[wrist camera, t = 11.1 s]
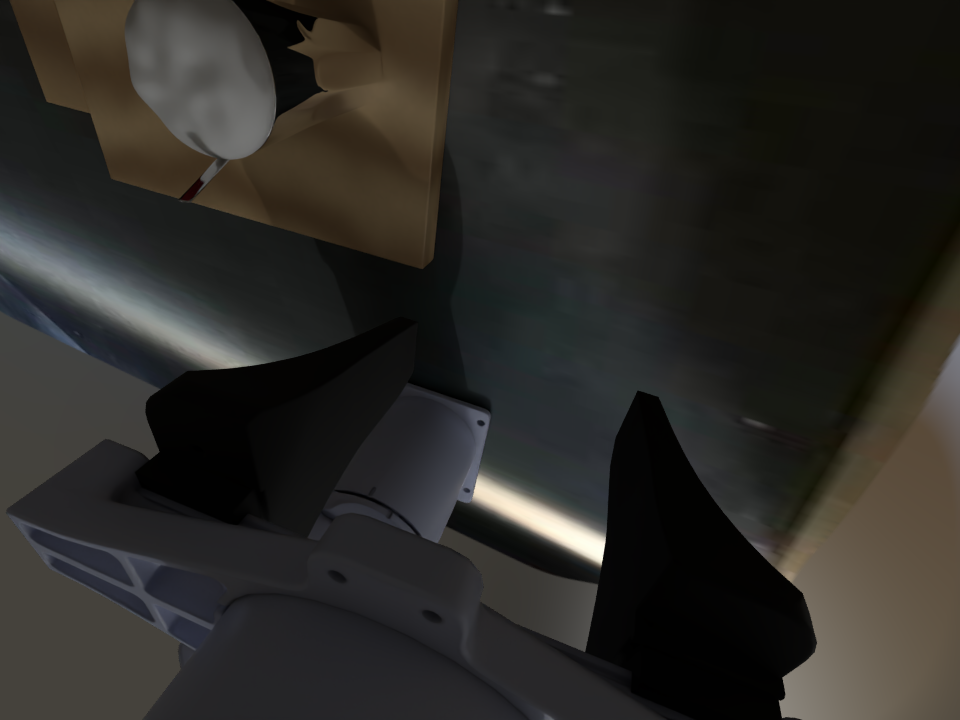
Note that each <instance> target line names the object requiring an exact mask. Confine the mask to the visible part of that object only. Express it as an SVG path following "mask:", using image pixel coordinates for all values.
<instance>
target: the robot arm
mask: <svg viewBox="0 0 960 720" xmlns="http://www.w3.org/2000/svg"><path fill="white" fill-rule="evenodd" d="M417 326H418V322H416V321H413V320H410V319H407V318H403V317H399V318H396V319H394V320H392V321H389V322H387V323H385V324H383V325H380V326H378V327H376V328H374V329H372V330H369V331H367V332H365V333H363V334H360V335H358V336H356V337H353V338H351V339H348V340H346V341H343V342H341V343H338V344H335V345H333V346H330V347H328V348H325V349H322V350H319V351H316V352H312V353H309V354H305V355H302V356H298V357H294V358H290V359H285V360H280V361H276V362H271V363H266V364H260V365H253V366H247V367H238V368H229V369H216V370H199V371H187V372H185V373H184V374H182V375H181V376H179V377H178V378H176V379H175V380H174V381H172V382H171V383H169V384H168V385H166V386H165V387H163V388H162V389H161V390H159V391H158V392H156V393H155V394H153V395H152V396H150V398H149V399H148V400H147V402H146V416H147V420H148V423H149V426H150V428H151V431H152V433H153V436H154V438H155V441H156V443H157V446H158V448H159V451H160V452H159V453H158V454H157V455H155V456H154V457H153V458H152V459H151V460H149V459H148V458H147V457H146V456H145V455H143V454H142V453H140V452H138V451H136V450H134V449H131V448H129V447H126V446H124V445H121V444H119V443H116V442H114V441H111V440H107V439H105V440H103V441H102V442H100V443H99V444H98V445H96V446H95V447H94V448H92V449H91V450H89V451H88V452H87V453H85V454H84V455H82V456H81V457H79V458H78V459H77V460H75V461H74V462H72V463H71V464H70V465H68V466H67V467H65V468H64V469H63V470H61V471H60V472H58V473H57V474H55V475H54V476H53V477H51V478H50V479H49V480H47V481H46V482H44V483H43V484H41V485H40V486H39V487H37V488H36V489H34V490H33V491H32V492H30V493H29V494H27V495H26V496H25V497H23V498H22V499H20V500H19V501H17V502H16V503H15V504H13V505H12V506H10V507H9V508H8V509H7V512H6V513H7V515H8V516H9V517H10V519H11V520H12V521H13V523H14V524H15V525H16V526H17V528H18V529H19V530H20V532H21V533H22V534H23V535H24V537H25V538H26V539H27V540H28V542H29V543H30V544H31V545H32V547H33V548H34V549H35V551H36V552H37V553H38V555H39V556H40V557H41V558H42V560H43V561H44V562H45V564H46V565H47V566H48V567H49V568H50V569H51V570H53V571H55V572H57V573H60V574H61V575H63V576H65V577H68V578H70V579H72V580H74V581H76V582H78V583H80V584H82V585H83V586H85V587H87V588H89V589H91V590H93V591H95V592H97V593H99V594H100V595H102V596H104V597H106V598H107V599H109V600H111V601H113V602H114V603H116V604H118V605H119V606H121V607H123V608H125V609H126V610H128V611H130V612H131V613H133V614H135V615H136V616H138V617H140V618H141V619H143V620H145V621H147V622H148V623H150V624H151V625H153V626H155V627H157V628H158V629H160V630H162V631H163V632H165V633H166V634H168V635H170V636H171V637H173V638H175V639H176V640H178V641H180V642H181V643H180V645H179V650H178V652H179V662H180V667H181V670H180V671H179V673H178V674H177V675H176V677H175V678H174V679H173V681H172V682H171V683H170V685H169V686H168V687H167V688H166V690H165V691H164V692H163V694H162V695H161V696H160V698H159V699H158V700H157V701H156V703H155V704H154V705H153V707H152V708H151V709H150V711H149V712H148V713H147V715H146V716H145V717H144V719H143V720H801V719H797V718H789V717H785V718H782V716H781V711H780V706H779V700H783V699H784V698H785V689H784V684H783V679H782V677H784V676H785V675H787V674H788V673H789V672H791V671H792V670H794V669H795V668H797V667H798V666H799V665H801V664H802V663H804V662H805V661H806V660H807V659H808V658H809V657H810V656H811V655H812V654H813V653H814V652H815V648H816V644H817V641H816V637H815V633H814V629H813V625H812V621H811V617H810V613H809V610H808V607H807V604H806V602H805V599H804V596H803V593H802V592H800V591H799V590H798V589H797V588H796V587H795V586H794V585H793V584H792V583H791V582H790V581H789V580H787V579H786V578H785V577H784V576H783V575H782V574H781V573H780V572H779V571H778V570H776V569H775V568H774V567H773V566H772V565H771V564H770V563H769V562H768V561H767V560H766V559H765V558H764V557H763V556H762V555H761V554H760V553H759V552H758V551H757V550H756V549H755V548H754V547H753V546H752V545H751V544H750V543H749V542H748V541H747V539H746V538H745V537H744V536H743V535H742V534H741V533H740V532H739V531H738V529H737V528H736V527H735V526H734V525H733V523H732V522H731V521H730V520H729V519H728V517H727V516H726V515H725V514H724V513H723V511H722V510H721V509H720V508H719V506H718V505H717V504H716V502H715V501H714V500H713V498H712V497H711V495H710V494H709V492H708V491H707V490H706V488H705V487H704V485H703V484H702V482H701V481H700V479H699V478H698V476H697V475H696V473H695V471H694V470H693V468H692V466H691V464H690V463H689V461H688V459H687V457H686V456H685V454H684V452H683V450H682V448H681V446H680V444H679V442H678V440H677V438H676V436H675V434H674V431H673V429H672V427H671V425H670V422H669V420H668V418H667V416H666V413H665V411H664V409H663V406H662V404H661V401H660V399H659V397H657V396H654V395H651V394H647V393H644V392H641V391H637V393H636V395H635V398H634V400H633V402H632V404H631V406H630V408H629V410H628V413H627V415H626V417H625V419H624V421H623V423H622V425H621V427H620V430H619V432H618V434H617V436H616V439H615V444H614V449H613V454H612V459H611V465H610V479H609V497H608V517H607V533H606V543H605V549H604V555H603V561H602V567H601V573H600V579H599V584H598V590H597V596H596V602H595V606H594V612H593V617H592V621H591V627H590V632H589V637H588V641H587V646H586V651H585V652H583V651H581V650H578V649H576V648H573V647H571V646H568V645H566V644H564V643H561V642H559V641H556V640H554V639H552V638H549V637H547V636H544V635H541V634H539V633H537V632H534V631H532V630H530V629H527V628H525V627H522V626H520V625H517V624H515V623H513V622H512V621H510V620H509V619H507V618H506V617H504V616H502V615H501V614H499V613H498V612H496V611H494V610H493V609H491V608H490V607H488V606H487V605H485V604H483V603H482V602H480V597H481V594H482V591H483V588H484V586H483V580H482V574H481V573H480V571H479V570H478V569H477V568H476V567H475V566H474V564H473V563H472V562H471V561H470V560H469V559H468V558H467V557H465V556H463V555H461V554H460V553H458V552H456V551H454V550H453V549H451V548H448V547H445V546H443V545H441V544H438V541H439V539H440V537H441V535H442V532H443V530H444V528H445V526H446V524H447V521H448V519H449V517H450V515H451V512H452V510H453V508H454V506H455V503H456V501H457V500H460V501H462V502H465V503H469V502H471V500H472V497H473V493H474V489H475V484H476V480H477V476H478V471H479V467H480V462H481V458H482V454H483V449H484V445H485V440H486V436H487V432H488V427H489V423H490V418H491V414H490V412H489V411H488V410H487V409H485V408H482V407H479V406H476V405H473V404H470V403H467V402H464V401H461V400H458V399H455V398H452V397H449V396H446V395H443V394H440V393H437V392H434V391H431V390H428V389H425V388H422V387H419V386H416V385H413V384H410V383H407V382H408V380H409V379H410V377H411V375H412V373H413V371H414V362H415V350H416V338H417ZM480 420H482V421H483V422H481V421H480Z"/></svg>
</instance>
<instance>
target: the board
mask: <svg viewBox="0 0 960 720" xmlns="http://www.w3.org/2000/svg"><path fill="white" fill-rule="evenodd" d="M134 1H135V0H10V2H11V5H12V8H13V11H14V13H15V16H16V19H17V22H18V24H19V27H20V30H21V32H22V35H23V38H24V41H25V43H26V46H27V49H28V52H29V54H30V57H31V60H32V63H33V65H34V68H35V71H36V74H37V76H38V79H39V82H40V85H41V87H42V90H43V93H44V95H45V98H46V101H47V102H50V103H54V104H57V105H61V106H65V107H69V108H72V109H76V110H80V111H84V112H88V113H91V117H92V120H93V123H94V126H95V129H96V132H97V135H98V139H99V142H100V145H101V148H102V151H103V154H104V157H105V160H106V164H107V167H108V170H109V173H110V176H111V178H112V179H114V180H117V181H121V182H124V183H128V184H131V185H135V186H138V187H141V188H145V189H148V190H152V191H155V192H159V193H162V194H165V195H169V196H172V197H176V198H180V197H181V196H182V195H183V194H184V193H185V192H186V191H187V190H188V189H189V188H190V187H191V186H192V184H193V183H194V182H195V181H196V180H197V179H198V178H199V177H200V176H201V175H202V174H203V173H204V172H205V171H206V170H207V169H208V168H209V166H210V165H211V164H212V163H213V162H214V161H215V160H216V159H217V158H214V157H211V156H208V155H205V154H202V153H200V152H198V151H196V150H194V149H192V148H190V147H189V146H187V145H186V144H184V143H183V142H181V141H180V140H179V139H178V138H176V137H175V136H174V135H173V134H172V133H171V132H170V131H169V129H168V128H167V127H166V126H165V124H164V123H163V122H162V120H161V119H160V118H159V117H158V116H157V114H156V113H155V112H154V111H153V110H152V109H151V108H150V107H149V106H148V105H147V104H146V103H145V102H144V101H143V100H142V98H141V97H140V96H139V95H138V93H137V92H136V90H135V89H134V86H133V84H132V81H131V77H130V69H129V61H128V54H127V48H126V42H125V22H126V18H127V15H128V12H129V10H130V8H131V6H132V4H133V3H134ZM277 1H281V2H285V3H289V4H293V5H297V6H301V7H306V8H310V9H314V10H318V11H322V12H326V13H330V14H334V15H338V16H342V17H344V18H346V19H348V20H350V21H353V22H355V23H357V24H359V25H361V26H364V27H365V28H366V29H367V31H368V32H369V34H370V36H371V37H372V39H373V41H374V42H375V44H376V46H377V47H378V49H379V51H380V52H381V63H382V75H383V82H382V84H381V86H380V88H379V90H378V92H377V94H376V96H375V98H374V100H373V102H372V103H370V104H368V105H365V106H363V107H360V108H357V109H355V110H352V111H349V112H347V113H344V114H341V115H339V116H336V117H334V118H331V119H328V120H326V121H323V122H321V123H318V124H316V125H313V126H311V127H309V128H307V129H305V130H303V131H301V132H299V133H297V134H295V135H293V136H291V137H288V138H286V139H284V140H282V141H280V142H278V143H275V144H273V145H271V146H269V147H266V148H264V149H262V150H260V151H258V152H255V153H253V154H251V155H249V156H247V157H244V158H240V159H233V160H230V161H229V162H228V163H227V164H226V165H225V166H224V167H223V168H222V169H221V170H220V171H219V172H218V174H217V175H216V176H215V177H214V178H213V179H212V180H211V181H210V182H209V183H208V184H207V186H206V187H205V188H204V189H203V190H202V191H201V192H200V193H199V194H198V195H197V196H196V197H195V198H194V200H193V201H192V202H193V203H196V204H200V205H203V206H207V207H210V208H214V209H217V210H220V211H224V212H227V213H231V214H234V215H238V216H241V217H245V218H248V219H251V220H255V221H258V222H262V223H265V224H269V225H272V226H275V227H279V228H282V229H286V230H289V231H293V232H296V233H300V234H303V235H306V236H310V237H313V238H317V239H320V240H324V241H327V242H330V243H334V244H337V245H341V246H344V247H348V248H351V249H354V250H358V251H361V252H365V253H368V254H372V255H375V256H379V257H382V258H385V259H389V260H392V261H396V262H399V263H403V264H406V265H409V266H413V267H416V268H420V269H423V268H424V267H426V266H427V265H428V264H429V263H430V262H431V261H432V260H433V258H434V247H435V237H436V226H437V216H438V206H439V195H440V185H441V174H442V164H443V154H444V143H445V133H446V122H447V112H448V102H449V91H450V81H451V70H452V60H453V50H454V39H455V29H456V18H457V8H458V0H277Z"/></svg>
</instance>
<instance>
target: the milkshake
mask: <svg viewBox="0 0 960 720" xmlns="http://www.w3.org/2000/svg"><path fill="white" fill-rule="evenodd" d="M125 42H126V48H127V54H128V61H129V69H130V77H131V81H132V84H133V86H134V89H135V90H136V92H137V93H138V95H139V96H140V97H141V98H142V100H143V101H144V102H145V103H146V104H147V105H148V106H149V107H150V108H151V109H152V110H153V111H154V112H155V113H156V114H157V116H158V117H159V118H160V119H161V120H162V122H163V123H164V124H165V126H166V127H167V128H168V129H169V131H170V132H171V133H172V134H173V135H174V136H175V137H176V138H178V139H179V140H180V141H181V142H183V143H184V144H186V145H187V146H189V147H190V148H192V149H194V150H196V151H198V152H200V153H202V154H205V155H208V156H211V157H214V158H217V159H216V160H215V161H214V162H213V163H212V164H211V165H210V166H209V168H208V169H207V170H206V171H205V172H204V173H203V174H202V175H201V176H200V177H199V178H198V179H197V180H196V181H195V182H194V183H193V184H192V186H191V187H190V188H189V189H188V190H187V191H186V192H185V193H184V194H183V195H182V196H181V197H180V198H179V201H180V202H187V203H190V202H192V201H193V200H194V198H195V197H196V196H197V195H198V194H199V193H200V192H201V191H202V190H203V189H204V188H205V187H206V186H207V184H208V183H209V182H210V181H211V180H212V179H213V178H214V177H215V176H216V175H217V174H218V172H219V171H220V170H221V169H222V168H223V167H224V166H225V165H226V164H227V163H228V162H229V161H230V160H233V159H240V158H244V157H247V156H249V155H251V154H253V153H255V152H258V151H260V150H262V149H264V148H266V147H269V146H271V145H273V144H275V143H278V142H280V141H282V140H284V139H286V138H288V137H291V136H293V135H295V134H297V133H299V132H301V131H303V130H305V129H307V128H309V127H311V126H313V125H316V124H318V123H321V122H323V121H326V120H328V119H331V118H334V117H336V116H339V115H341V114H344V113H347V112H349V111H352V110H355V109H357V108H360V107H363V106H365V105H368V104H370V103H372V102H373V100H374V98H375V96H376V94H377V92H378V90H379V88H380V86H381V84H382V82H383V75H382V63H381V52H380V51H379V49H378V47H377V46H376V44H375V42H374V41H373V39H372V37H371V36H370V34H369V32H368V31H367V29H366V28H365V27H364V26H361V25H359V24H357V23H355V22H353V21H350V20H348V19H346V18H344V17H342V16H338V15H334V14H330V13H326V12H322V11H318V10H314V9H310V8H306V7H301V6H297V5H293V4H289V3H285V2H281V1H277V0H135V1H134V3H133V4H132V6H131V8H130V10H129V12H128V15H127V18H126V22H125Z"/></svg>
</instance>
